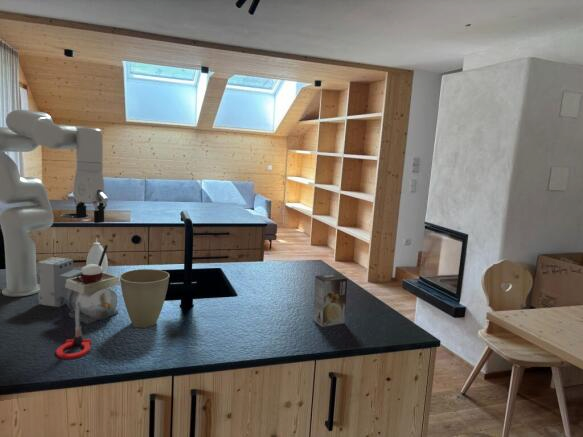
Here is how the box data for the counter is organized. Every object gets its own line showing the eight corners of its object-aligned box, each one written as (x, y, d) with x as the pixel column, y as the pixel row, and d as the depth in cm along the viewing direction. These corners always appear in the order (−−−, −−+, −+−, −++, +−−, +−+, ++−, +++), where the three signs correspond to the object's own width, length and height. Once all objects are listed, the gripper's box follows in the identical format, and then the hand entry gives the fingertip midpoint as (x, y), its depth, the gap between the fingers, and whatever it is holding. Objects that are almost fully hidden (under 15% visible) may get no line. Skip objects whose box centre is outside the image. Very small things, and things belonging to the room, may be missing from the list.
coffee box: (334, 316, 154) (338, 272, 152) (345, 323, 149) (348, 278, 146) (312, 320, 150) (315, 275, 148) (321, 327, 145) (325, 280, 142)
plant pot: (149, 336, 131) (149, 285, 129) (109, 327, 136) (108, 277, 134) (178, 319, 145) (178, 272, 143) (141, 311, 150) (141, 266, 148)
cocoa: (76, 287, 139) (73, 251, 137) (79, 280, 145) (76, 245, 142) (109, 284, 142) (106, 249, 140) (110, 278, 148) (108, 244, 145)
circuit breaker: (75, 309, 149) (73, 266, 146) (38, 304, 152) (36, 262, 149) (89, 301, 156) (88, 261, 154) (54, 297, 159) (52, 256, 156)
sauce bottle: (94, 275, 185) (93, 234, 182) (111, 277, 184) (110, 235, 181) (82, 281, 178) (81, 237, 175) (100, 283, 177) (100, 239, 174)
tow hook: (84, 360, 117) (95, 342, 126) (82, 314, 114) (93, 300, 123) (51, 360, 116) (64, 343, 125) (48, 315, 113) (61, 300, 122)
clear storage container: (61, 315, 143) (60, 278, 141) (97, 304, 154) (97, 269, 152) (90, 327, 135) (89, 288, 133) (126, 314, 146) (125, 278, 144)
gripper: (63, 164, 141) (63, 217, 144) (95, 170, 132) (95, 225, 135) (84, 164, 147) (85, 214, 150) (117, 169, 138) (116, 223, 141)
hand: (90, 220), depth 142 cm, fingers open, 9 cm apart
